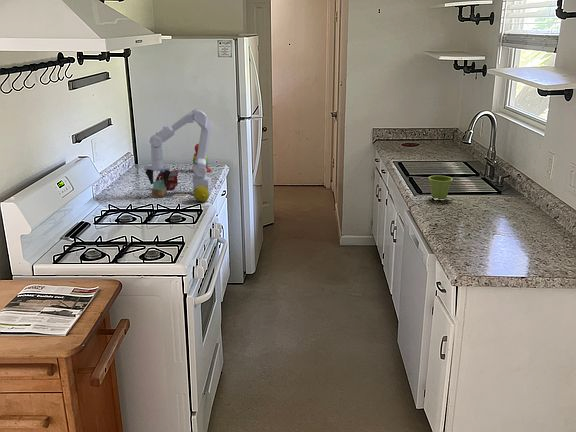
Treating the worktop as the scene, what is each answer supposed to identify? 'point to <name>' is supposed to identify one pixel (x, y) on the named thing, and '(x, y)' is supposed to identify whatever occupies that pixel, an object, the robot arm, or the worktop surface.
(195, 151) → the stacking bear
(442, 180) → the plant pot
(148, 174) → the robot arm
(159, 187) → the teal block
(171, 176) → the toy fire truck
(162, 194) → the walnut block
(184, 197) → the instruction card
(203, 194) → the lemon
